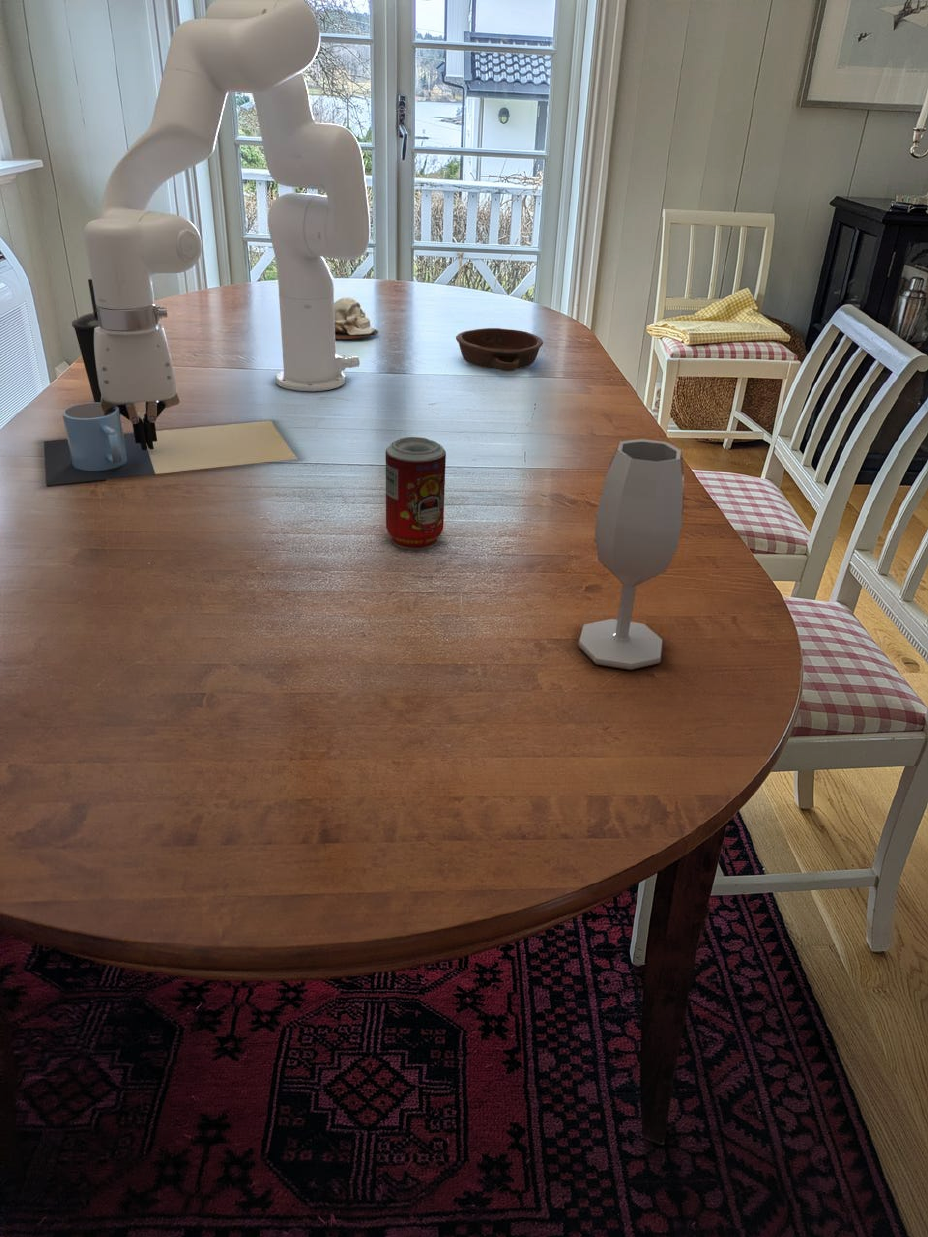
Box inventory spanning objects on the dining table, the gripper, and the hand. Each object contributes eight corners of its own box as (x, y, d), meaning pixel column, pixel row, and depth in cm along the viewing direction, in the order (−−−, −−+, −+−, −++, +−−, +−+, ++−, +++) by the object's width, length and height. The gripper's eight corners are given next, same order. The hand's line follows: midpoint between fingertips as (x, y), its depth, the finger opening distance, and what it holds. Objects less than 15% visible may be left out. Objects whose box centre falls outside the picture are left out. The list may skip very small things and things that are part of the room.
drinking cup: (120, 414, 148) (99, 285, 137) (77, 409, 149) (53, 282, 139) (143, 400, 154) (125, 276, 144) (102, 396, 155) (81, 273, 145)
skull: (391, 327, 201) (373, 297, 191) (371, 366, 199) (352, 337, 189) (348, 317, 206) (328, 287, 196) (327, 355, 203) (306, 326, 194)
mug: (63, 459, 129) (53, 408, 125) (113, 448, 134) (105, 398, 130) (95, 482, 123) (85, 428, 119) (146, 470, 127) (138, 417, 123)
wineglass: (569, 626, 95) (591, 433, 84) (650, 625, 96) (682, 433, 85) (586, 673, 88) (612, 467, 77) (674, 671, 88) (712, 468, 78)
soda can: (411, 557, 107) (411, 459, 101) (374, 537, 112) (372, 441, 105) (455, 541, 111) (458, 446, 105) (418, 522, 116) (419, 430, 110)
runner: (270, 421, 147) (270, 420, 147) (297, 459, 133) (297, 458, 133) (44, 442, 135) (43, 441, 135) (46, 486, 121) (46, 485, 121)
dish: (461, 378, 173) (461, 351, 170) (450, 348, 192) (450, 324, 189) (550, 378, 175) (553, 352, 172) (531, 349, 194) (533, 325, 191)
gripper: (180, 309, 129) (195, 433, 138) (67, 314, 124) (91, 443, 133) (188, 321, 123) (203, 450, 132) (70, 327, 118) (94, 461, 127)
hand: (147, 446), depth 133 cm, fingers closed
